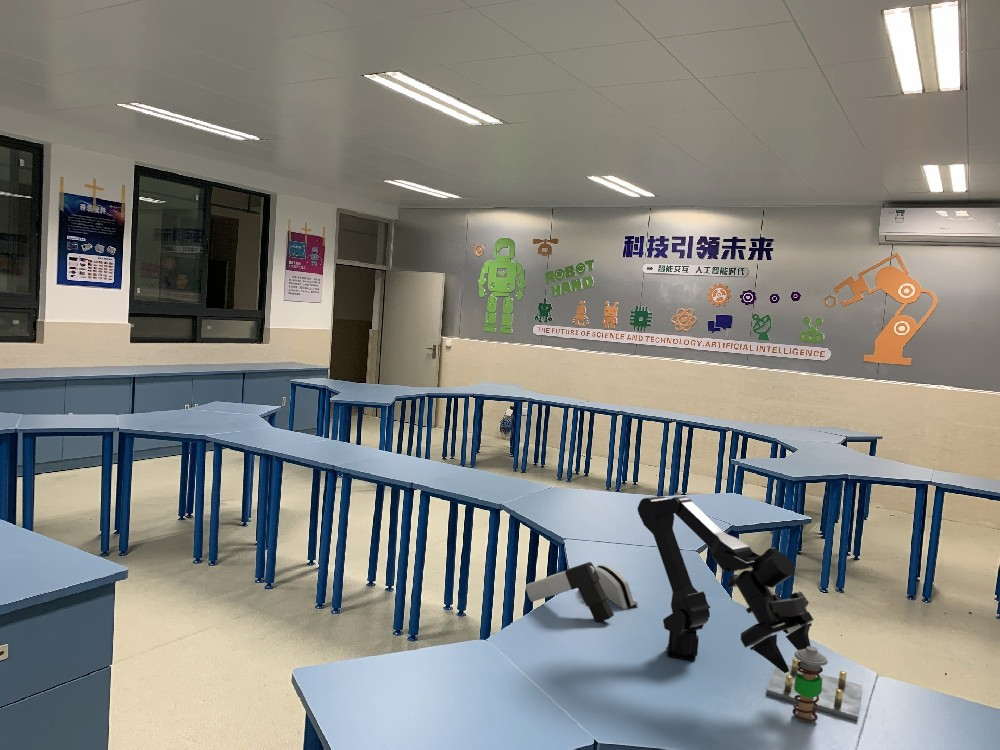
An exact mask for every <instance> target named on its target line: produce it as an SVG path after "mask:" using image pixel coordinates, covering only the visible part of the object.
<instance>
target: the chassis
mask: <svg viewBox="0 0 1000 750" xmlns="http://www.w3.org/2000/svg"><path fill="white" fill-rule="evenodd" d="M798 662H800V660H798V659H797V658H796V657H794V658H792V659H791V665H790V664H787V666H788V669H789V672H787V673H784V672H783V671H781V670H780V669H779V668H778V667H776V666H775V669H774V672H773V673H772V676H771V679H770V681H769V683H768V685H767V688H766V690H765V691H766V692H765V695H766V696H769V697H772V698H775V699H778V700H782V701H784V702H788V703H792V704H794V705H796V704H798V705H799V701H797V700H796V699H795V698H794V697H795V696H796V695H800V694H798V693H797V692H796V691H795V690H794V686H795V678H796V674H803V673H801V672H799V671H798V665H797V663H798ZM800 670H802V669H800ZM802 671H803V670H802ZM819 675H820V677H821V678H823V679H822V693H821V694H820V695H818V696H819V701H818V702H816V704H817V705H818V710H817V711H818V712H823V713H825V714H829V715H831V716H835V717H838V718H842V719H846V720H850V721H853V722H856V723H857V722H858V721H859V720H858V718H859V711H860V706H861V700H862V699H861V698H862V691H863V685H862V684H858V683H855V682H851V681H848V680H847V672H846V671H843V670H840V671H839V676H838V678H837V677H834V676H833V677H832V676H829V675H825V674H822V673H820V674H819ZM816 677H817V675H816ZM798 699H800V698H798ZM816 699H817V697H814V699H813V701H814V700H816ZM815 708H816V706H815V705H814V704H813V709H812V710H814V709H815Z"/></svg>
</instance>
